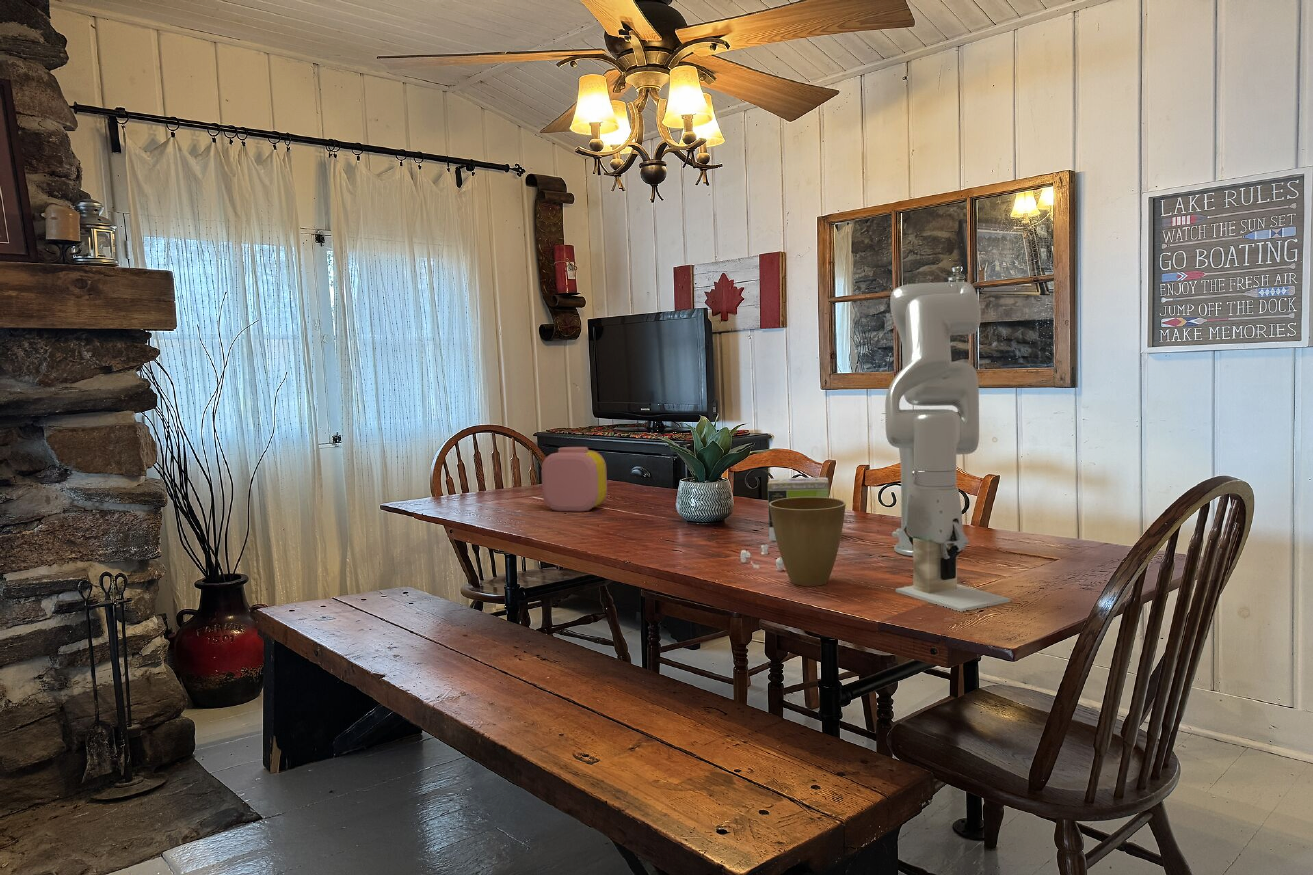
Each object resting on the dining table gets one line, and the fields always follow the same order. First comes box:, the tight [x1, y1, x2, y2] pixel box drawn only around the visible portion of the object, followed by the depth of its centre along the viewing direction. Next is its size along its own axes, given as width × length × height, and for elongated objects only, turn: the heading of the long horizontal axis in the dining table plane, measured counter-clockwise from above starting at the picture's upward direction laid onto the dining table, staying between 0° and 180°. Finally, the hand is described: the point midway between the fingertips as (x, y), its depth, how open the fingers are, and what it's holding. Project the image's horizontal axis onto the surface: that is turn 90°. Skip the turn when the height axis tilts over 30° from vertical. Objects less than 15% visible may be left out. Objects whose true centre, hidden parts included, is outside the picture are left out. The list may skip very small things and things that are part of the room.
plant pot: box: [769, 497, 847, 587], centre depth 171 cm, size 15×15×16 cm
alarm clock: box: [540, 446, 608, 513], centre depth 270 cm, size 18×11×19 cm, turn 74°
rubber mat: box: [895, 583, 1011, 613], centre depth 158 cm, size 16×12×1 cm
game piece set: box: [739, 544, 785, 572], centre depth 191 cm, size 19×20×4 cm
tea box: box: [767, 476, 830, 542], centre depth 216 cm, size 15×10×15 cm, turn 80°
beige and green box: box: [912, 536, 958, 594], centre depth 161 cm, size 4×7×10 cm, turn 117°
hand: (935, 574), depth 162 cm, fingers open, 5 cm apart
